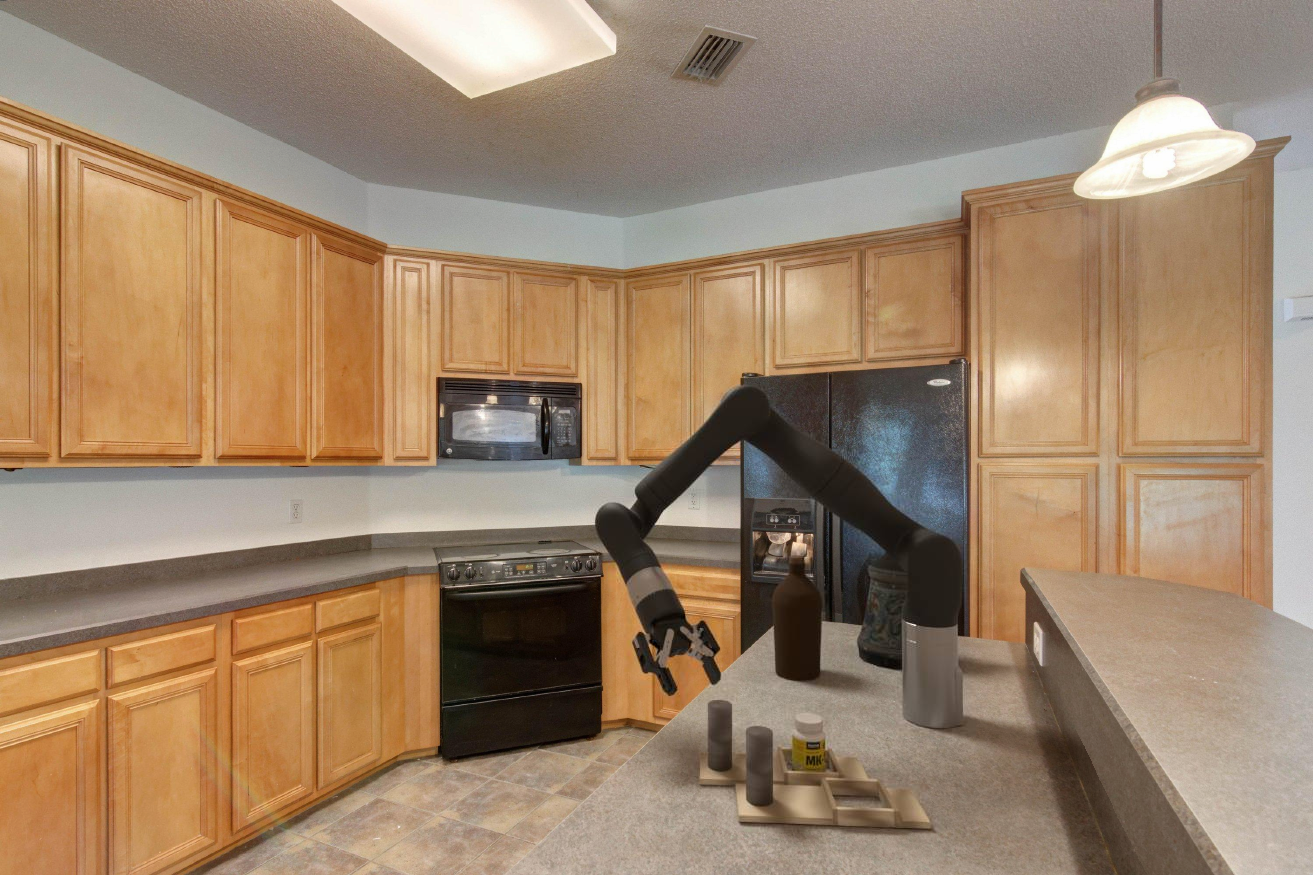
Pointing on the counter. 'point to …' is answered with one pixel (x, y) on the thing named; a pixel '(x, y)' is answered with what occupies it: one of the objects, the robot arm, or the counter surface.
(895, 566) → the beer stein
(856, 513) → the robot arm
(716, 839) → the counter surface
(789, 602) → the olive oil
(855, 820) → the empty strip
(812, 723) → the supplement bottle
